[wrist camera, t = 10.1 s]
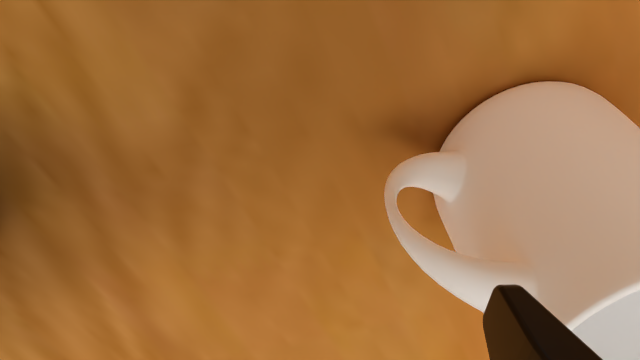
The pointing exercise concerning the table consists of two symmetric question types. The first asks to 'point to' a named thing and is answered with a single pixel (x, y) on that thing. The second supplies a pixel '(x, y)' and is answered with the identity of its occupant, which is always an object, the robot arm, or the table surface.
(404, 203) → the table surface
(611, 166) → the mug
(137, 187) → the table surface
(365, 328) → the table surface
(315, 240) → the table surface
